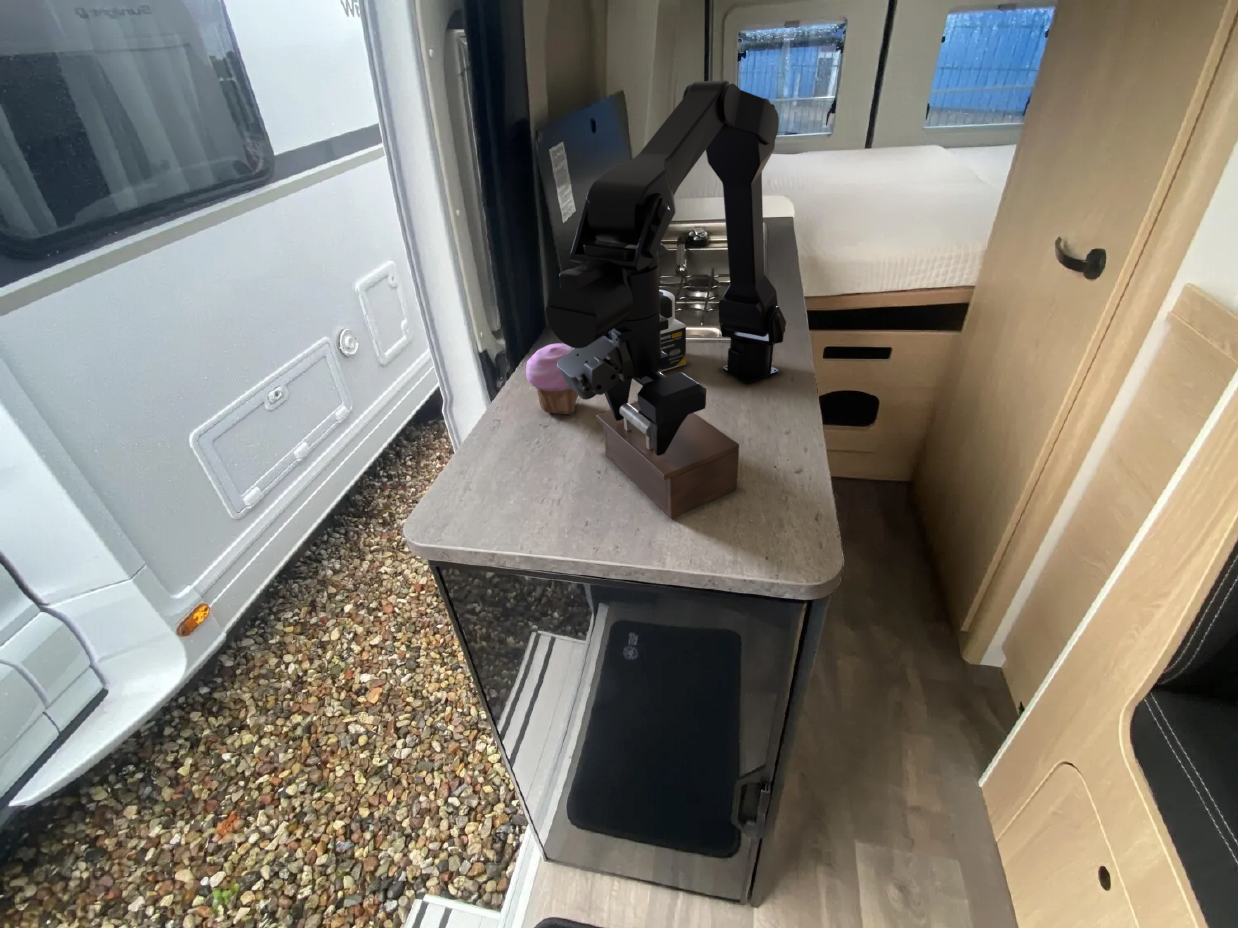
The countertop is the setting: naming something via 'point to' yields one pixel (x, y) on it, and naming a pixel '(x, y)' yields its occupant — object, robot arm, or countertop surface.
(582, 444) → the countertop surface
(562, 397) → the cupcake
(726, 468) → the storage box
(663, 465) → the hatch
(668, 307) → the medicine bottle
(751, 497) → the countertop surface
